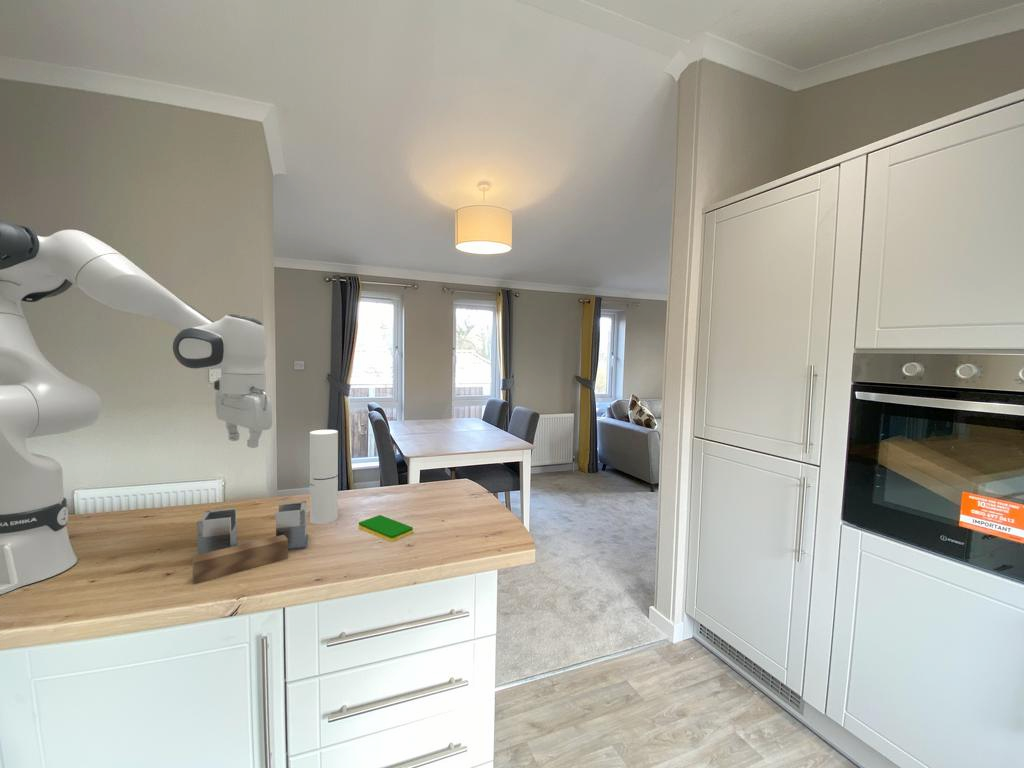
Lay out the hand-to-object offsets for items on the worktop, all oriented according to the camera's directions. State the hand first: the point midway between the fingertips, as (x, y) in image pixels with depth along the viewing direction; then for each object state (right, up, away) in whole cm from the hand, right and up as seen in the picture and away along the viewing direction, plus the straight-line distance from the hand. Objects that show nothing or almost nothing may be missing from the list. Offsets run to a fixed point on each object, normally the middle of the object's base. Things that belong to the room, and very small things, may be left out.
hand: (243, 443), depth 100 cm
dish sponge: (+30, -26, +12) cm, 41 cm away
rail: (+5, -26, -8) cm, 28 cm away
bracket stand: (+3, -25, 0) cm, 25 cm away
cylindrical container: (+11, -24, +19) cm, 33 cm away
